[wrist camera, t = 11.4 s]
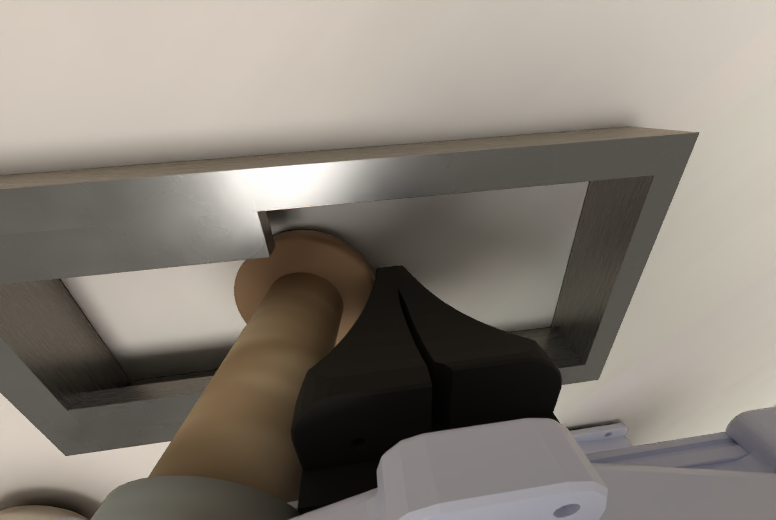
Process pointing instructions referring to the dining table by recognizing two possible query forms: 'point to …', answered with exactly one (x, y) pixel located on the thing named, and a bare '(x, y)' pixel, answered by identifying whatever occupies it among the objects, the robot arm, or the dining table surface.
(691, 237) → the dining table surface
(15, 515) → the plastic bottle
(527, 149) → the keyhole plate
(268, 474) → the peg
